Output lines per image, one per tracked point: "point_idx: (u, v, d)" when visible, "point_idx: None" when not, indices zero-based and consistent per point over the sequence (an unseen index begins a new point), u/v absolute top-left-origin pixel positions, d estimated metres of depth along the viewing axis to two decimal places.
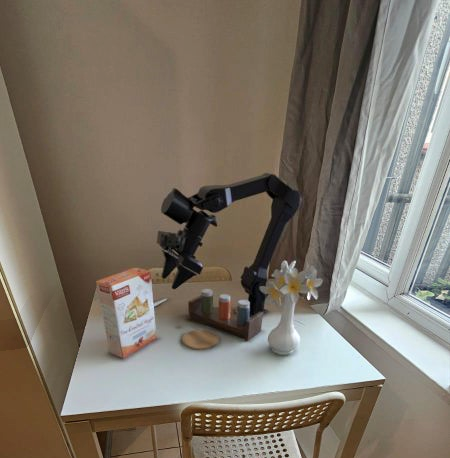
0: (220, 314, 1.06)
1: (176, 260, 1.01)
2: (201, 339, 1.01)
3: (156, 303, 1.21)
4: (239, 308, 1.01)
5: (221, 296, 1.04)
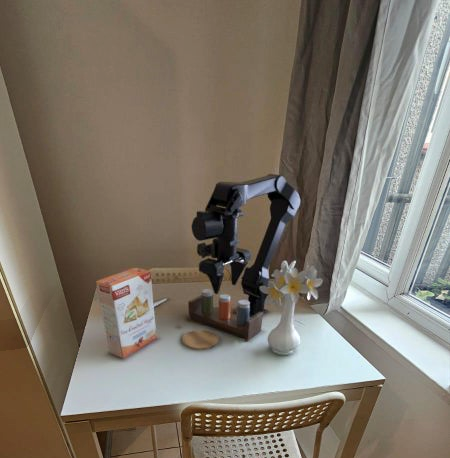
0: (220, 314, 1.06)
1: (239, 264, 1.01)
2: (201, 339, 1.01)
3: (156, 303, 1.21)
4: (239, 308, 1.01)
5: (221, 296, 1.04)
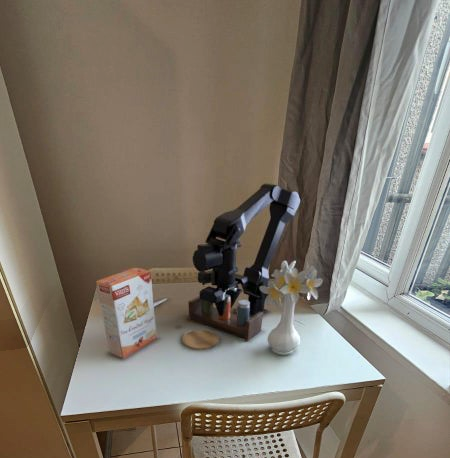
0: None
1: (233, 293, 1.05)
2: (201, 339, 1.01)
3: (156, 303, 1.21)
4: (239, 308, 1.01)
5: None
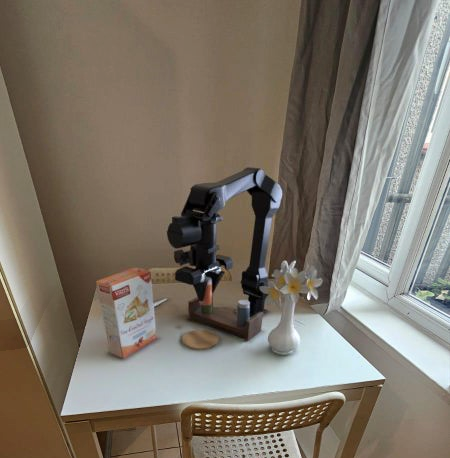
0: None
1: (215, 275, 0.93)
2: (201, 339, 1.01)
3: (156, 303, 1.21)
4: (239, 308, 1.01)
5: None
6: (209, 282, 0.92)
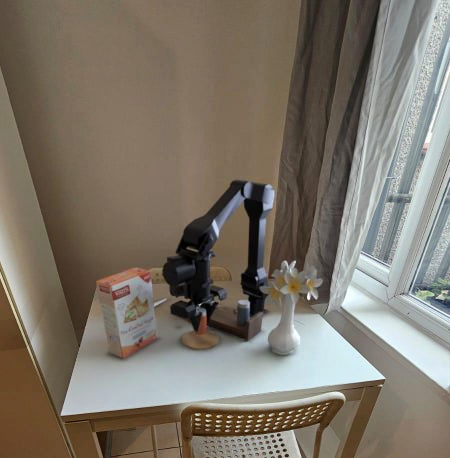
0: None
1: (209, 306, 0.96)
2: (201, 339, 1.01)
3: (156, 303, 1.21)
4: (239, 308, 1.01)
5: None
6: (203, 313, 0.95)
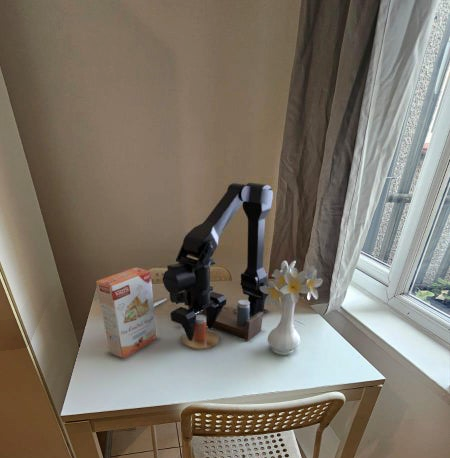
0: (195, 336, 0.99)
1: (214, 310, 0.99)
2: None
3: (156, 303, 1.21)
4: (239, 308, 1.01)
5: (196, 317, 0.97)
6: (204, 321, 0.96)
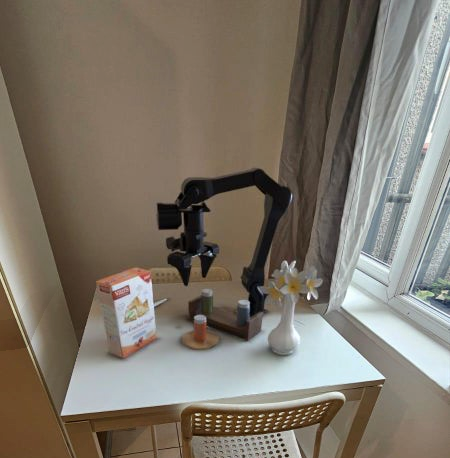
0: (195, 336, 0.99)
1: (208, 258, 1.05)
2: None
3: (156, 303, 1.21)
4: (239, 308, 1.01)
5: (196, 317, 0.97)
6: (204, 321, 0.96)
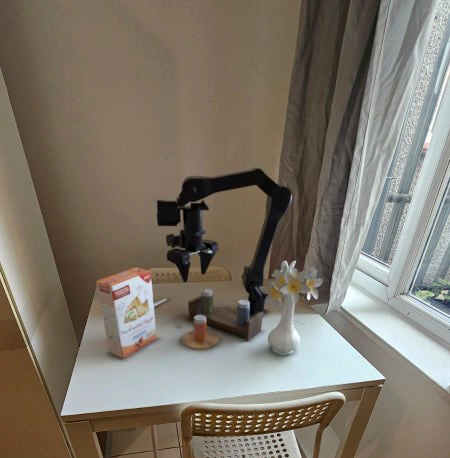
0: (195, 336, 0.99)
1: (207, 255, 1.08)
2: None
3: (156, 303, 1.21)
4: (239, 308, 1.01)
5: (196, 317, 0.97)
6: (204, 321, 0.96)
